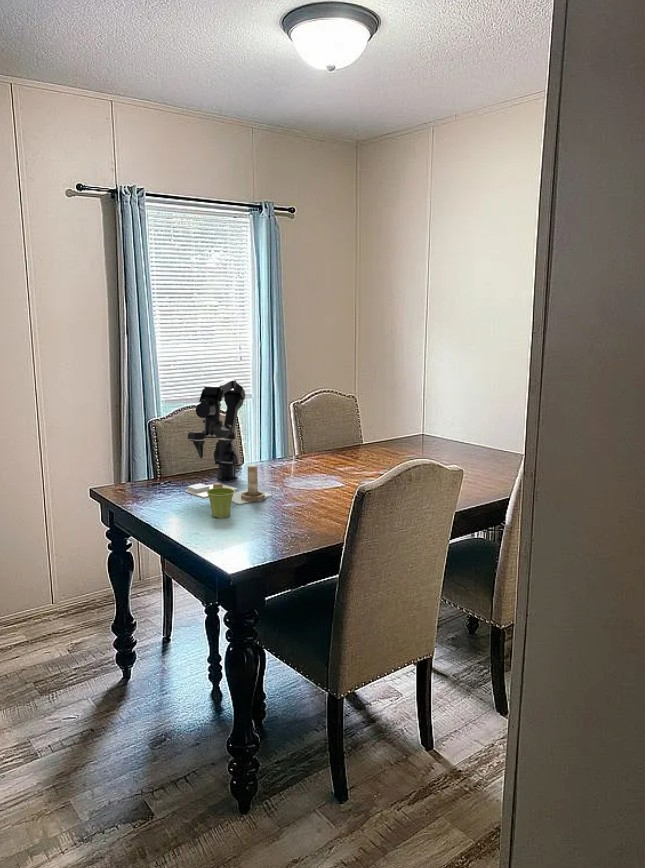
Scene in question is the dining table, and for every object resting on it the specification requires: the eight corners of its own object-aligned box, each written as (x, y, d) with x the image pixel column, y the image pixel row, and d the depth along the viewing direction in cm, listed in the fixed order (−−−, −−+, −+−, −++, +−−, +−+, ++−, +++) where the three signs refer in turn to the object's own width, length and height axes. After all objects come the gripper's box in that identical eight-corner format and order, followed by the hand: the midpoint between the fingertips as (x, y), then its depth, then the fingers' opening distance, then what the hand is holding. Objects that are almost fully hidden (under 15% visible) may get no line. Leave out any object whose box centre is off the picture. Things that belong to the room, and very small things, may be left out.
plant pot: (231, 510, 237) (230, 486, 235) (237, 518, 228) (237, 493, 226) (204, 513, 233) (204, 488, 232) (210, 521, 225) (209, 496, 223)
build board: (252, 490, 262) (252, 484, 262) (276, 497, 252) (276, 492, 252) (219, 498, 251) (219, 492, 250) (243, 506, 241) (243, 500, 241)
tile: (218, 484, 270) (218, 475, 270) (237, 490, 262) (237, 481, 261) (185, 491, 259) (185, 482, 258) (204, 498, 251) (203, 488, 250)
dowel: (249, 496, 252) (249, 465, 249) (259, 496, 251) (258, 465, 249) (246, 498, 248) (246, 467, 246) (256, 499, 247) (255, 467, 245)
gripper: (204, 418, 247) (203, 460, 248) (244, 418, 260) (243, 458, 261) (187, 417, 255) (186, 458, 256) (227, 417, 268) (226, 456, 269)
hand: (211, 458), depth 260 cm, fingers open, 9 cm apart
